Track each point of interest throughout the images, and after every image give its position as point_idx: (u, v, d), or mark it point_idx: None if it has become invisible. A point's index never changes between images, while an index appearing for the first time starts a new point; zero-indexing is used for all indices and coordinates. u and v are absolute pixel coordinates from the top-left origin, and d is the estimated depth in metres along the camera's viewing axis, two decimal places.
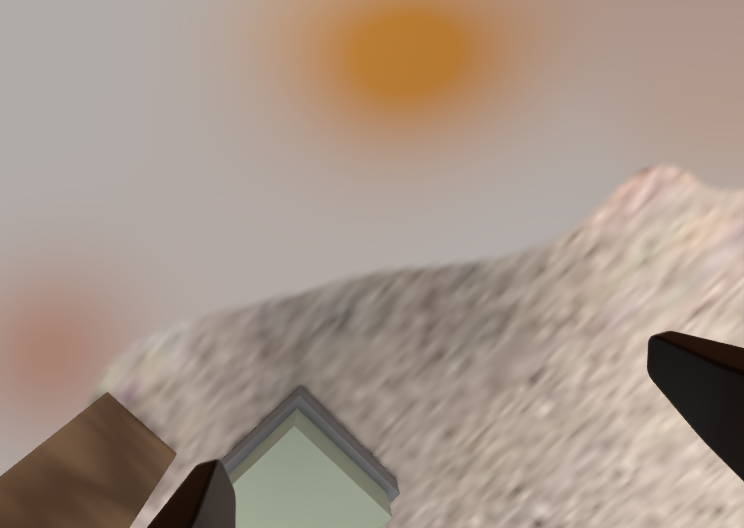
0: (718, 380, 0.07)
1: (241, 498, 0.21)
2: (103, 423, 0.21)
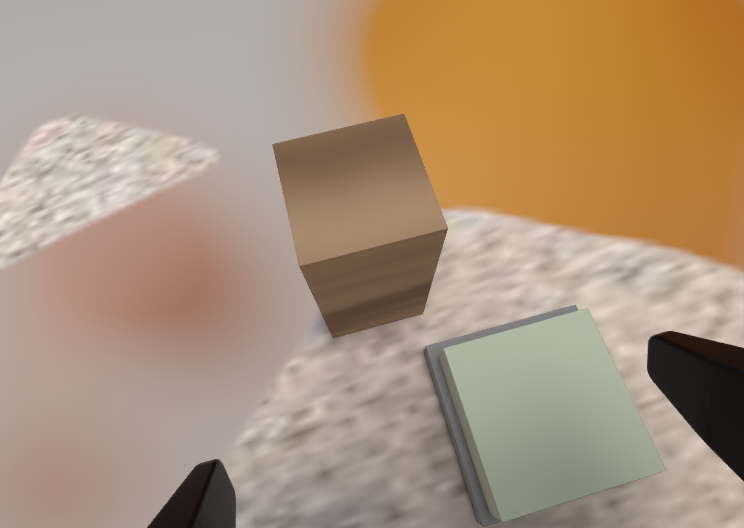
0: (718, 380, 0.07)
1: (506, 349, 0.19)
2: None
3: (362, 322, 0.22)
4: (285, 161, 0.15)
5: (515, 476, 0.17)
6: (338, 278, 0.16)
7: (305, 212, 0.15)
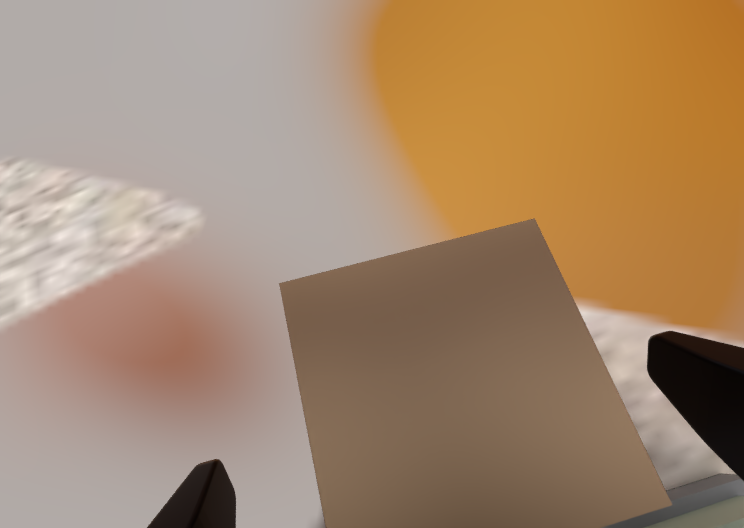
0: (718, 380, 0.07)
1: None
2: None
3: None
4: (305, 323, 0.08)
5: None
6: None
7: (351, 453, 0.07)
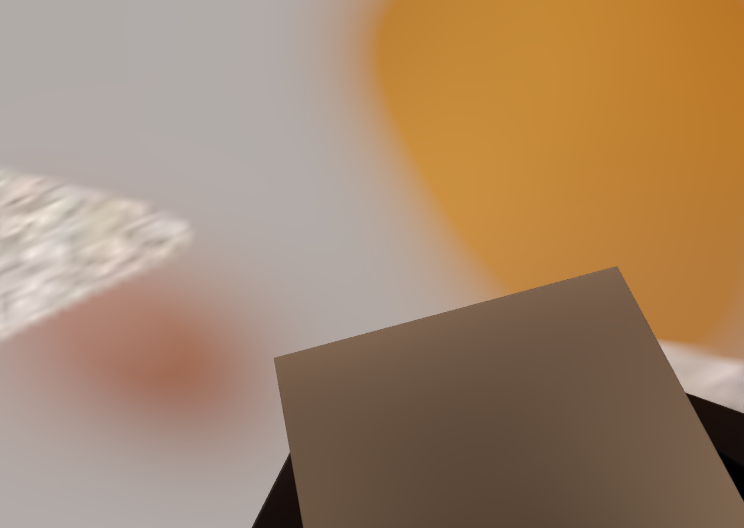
0: None
1: None
2: None
3: None
4: (310, 418, 0.05)
5: None
6: None
7: None
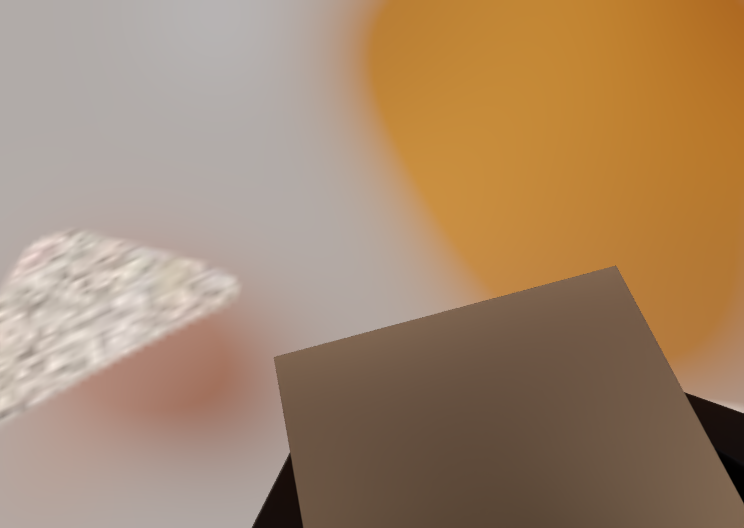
0: None
1: None
2: None
3: None
4: (310, 417, 0.06)
5: None
6: None
7: None
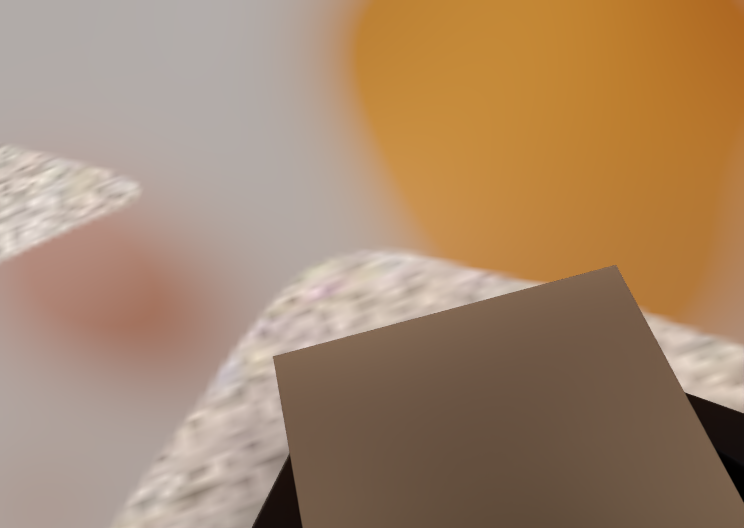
0: None
1: None
2: None
3: None
4: (309, 416, 0.05)
5: None
6: None
7: None
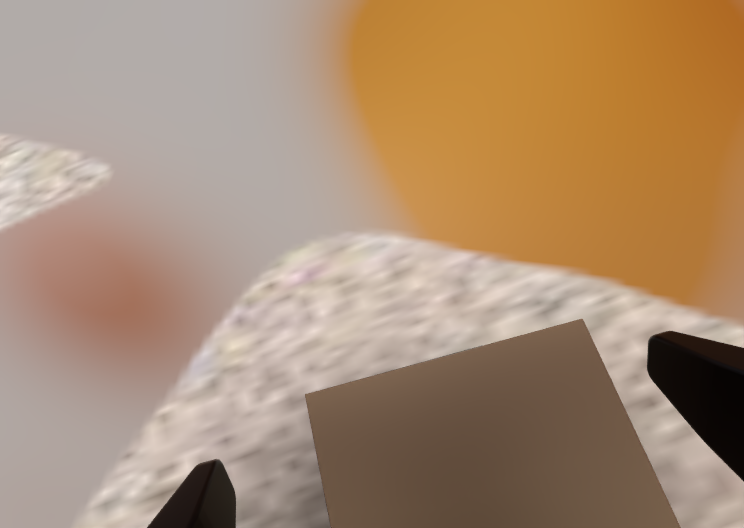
0: (718, 380, 0.07)
1: None
2: None
3: None
4: (335, 444, 0.07)
5: None
6: None
7: None
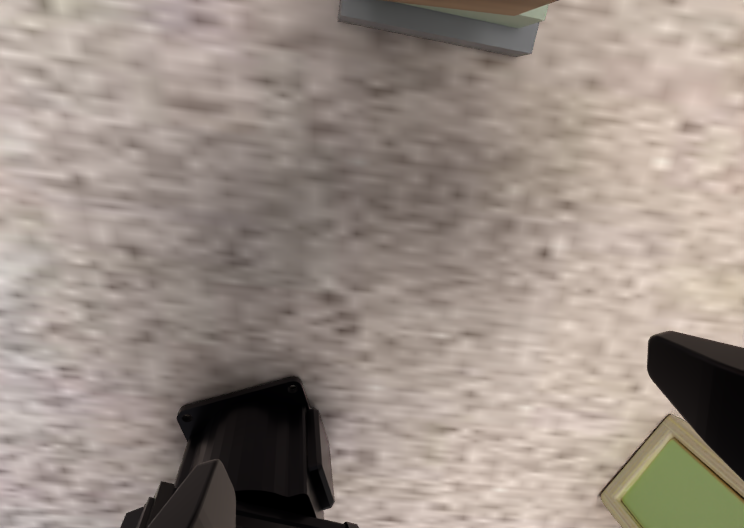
0: (718, 380, 0.07)
1: None
2: None
3: None
4: None
5: None
6: None
7: None
